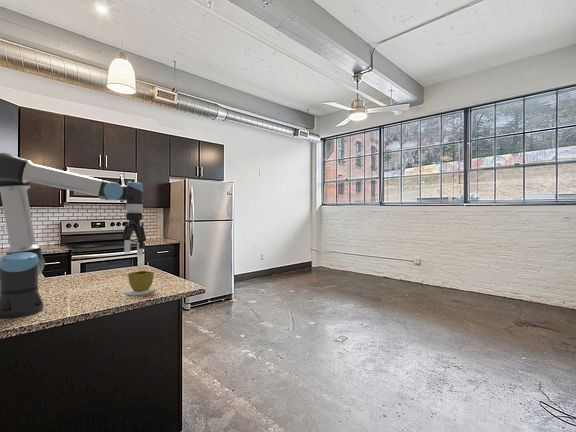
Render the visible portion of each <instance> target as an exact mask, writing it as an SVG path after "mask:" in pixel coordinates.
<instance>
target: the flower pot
mask: <svg viewBox="0 0 576 432" xmlns="http://www.w3.org/2000/svg"><path fill="white" fill-rule="evenodd" d="M154 274H155V273H154V271H148V270H147V271H146V270H139V271H134V272H130V273H128V274H127V277H128V284H129V286H130V288H132V289H133V290H134V291H140V292H141V291H144V290H148V289H149V288H150V287H152V284H153V281H154Z"/></svg>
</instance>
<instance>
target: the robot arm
mask: <svg viewBox="0 0 576 432" xmlns="http://www.w3.org/2000/svg"><path fill="white" fill-rule="evenodd" d="M31 183H33V184H38V185H44V186H46V187H47V186H48V187H52V188H57V189H63V190H67V191H73V192H77V193H82V194H86V195H91V196H96V197H98V198H99V199H100V200H105V201H125V202H126V203H125V204H126V206H125V212H126V213H125V220H127V221H125V225H124V228H123V233H122V237H121V238H122V239H123V240H124V248H123V251H124V252H123V253H124V254H127V253H131V240H132V235H133V233H134V234H135V236H136V238H137V242H136V256H143V255H144V242H146V241H147V238H146V233H145V228H144V222H143V213H142V212H143V208H144V206H143V205H144V204H143V203H144V202H143V201H144V186H143V185H144V184H143V183H142V182H138V181H137V182H136V181H127V182H126V185H121V184H119V183H118V182H116V181H115V182H114V181H108V180H102V179H99V178H94V177H92V176H87V175H82V174H79V173H75V172H69V171H64V170H62V169H57V168H54V167H53V168H52V167H49V166H44V165H40V164H36V163H33V161H32V160H30V159H26V158H22V157H18V156H16V155H13V154H11V153H8V152H7V153H6V152H0V198H1V204H2V210H3V214H4V220H5V225H6V231H7V236H8V242H9V243H8V244H9V248H8V249H7V250H6V252H5V253H6V254H5V255H3V256H2V257H1V258H0V319H9V318H17V317H23V316H28V315H32V314H33V315H34V314H36V313H39V312H41V311H42V310H43V309H44V302H43V299H42V296H41V295H40V292H39V275H40V274H41V273H42V272H43V271H44V269H45V266H46V261H45V258H44V257H43V254H42V248H41V246H40V245H38V244H37V243H36V239H35V232H34V226H33V220H32V215H31V214H32V213H31V209H30V202H29V201H30V200H29V195H28V190H29V189H30V188H31ZM140 221H141V222H140Z"/></svg>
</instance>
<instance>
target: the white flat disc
mask: <svg viewBox="0 0 576 432" xmlns="http://www.w3.org/2000/svg"><path fill="white" fill-rule="evenodd" d="M154 291H155V287H153V286H150V288H149V289H148V290H144V291H141V292H140V291H134V290H133V289H132V288H131V287H128V288H125V289H124V290H123V294H124V295H125V296H143V295H148V294H151V293H153V292H154Z"/></svg>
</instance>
